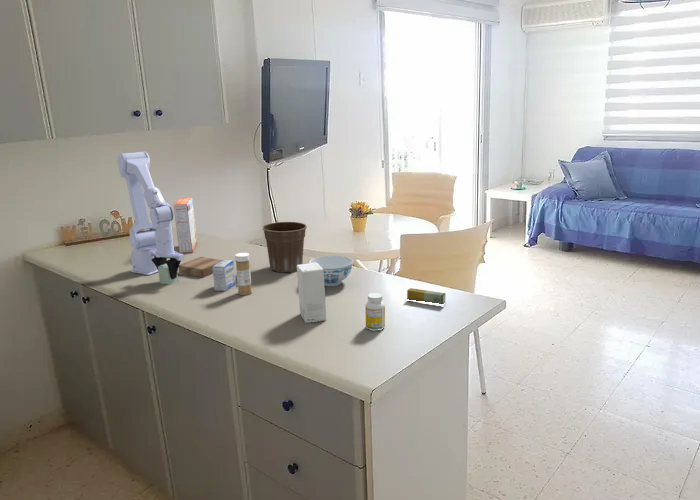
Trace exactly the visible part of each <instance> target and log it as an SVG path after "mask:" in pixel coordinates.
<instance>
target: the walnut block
mask: <svg viewBox="0 0 700 500" xmlns="http://www.w3.org/2000/svg"><path fill="white" fill-rule="evenodd" d="M222 260H223V259H217V258H212V257H203V256H199V257H196V258H193V259H191V260H188V261H186V262H183V263H180V264H179V267H178V273H179V274H182V275H183V274H184V275H188V276H193V277H200V278H206V277H208V276H211V275H213V266H215V265H216V264H217V263H219V262H220V261H222Z"/></svg>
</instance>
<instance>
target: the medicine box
mask: <svg viewBox="0 0 700 500" xmlns="http://www.w3.org/2000/svg"><path fill="white" fill-rule="evenodd" d="M221 260H222V261H220V262H219V263H217V264H216V265H215V266H213V274H212V276H213V284H214V291H217V292H228V291H229V290H230V289H231V288H232V287H234V285H235V284H236V273H235V261H234V260H233V259H221Z"/></svg>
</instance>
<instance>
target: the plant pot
mask: <svg viewBox="0 0 700 500" xmlns="http://www.w3.org/2000/svg"><path fill="white" fill-rule="evenodd" d="M262 230H263V233H264V238H265V242H266V249H267V255H268V261H269V262H268V263H269V269H270V270H271V271H273V272H275V271H276V272H277V273H291V272H297V265H300V264H304V263H303V260H304V257H303V256H304V245H305V244H304V243H305V237H306V230H307V224H305V223H303V222H297V221H279V222H272V223H266V224H264V225H263V226H262Z"/></svg>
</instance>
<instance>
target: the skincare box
mask: <svg viewBox="0 0 700 500" xmlns="http://www.w3.org/2000/svg"><path fill="white" fill-rule="evenodd" d="M296 276H297V289H298V300H299V313H300V316H301V318H302V319H303V321H304V322H305V324H311V322H312V323H317V322H318V321H319V322H323V321H327V307H326V306H327V305H326V291H325V289H326V288H325V285H324V270H323V268H322V267H321V266H320V265H319V264H318V263H317V262H316V263H309V262H308V263H302V264H300V265H297V270H296Z"/></svg>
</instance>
